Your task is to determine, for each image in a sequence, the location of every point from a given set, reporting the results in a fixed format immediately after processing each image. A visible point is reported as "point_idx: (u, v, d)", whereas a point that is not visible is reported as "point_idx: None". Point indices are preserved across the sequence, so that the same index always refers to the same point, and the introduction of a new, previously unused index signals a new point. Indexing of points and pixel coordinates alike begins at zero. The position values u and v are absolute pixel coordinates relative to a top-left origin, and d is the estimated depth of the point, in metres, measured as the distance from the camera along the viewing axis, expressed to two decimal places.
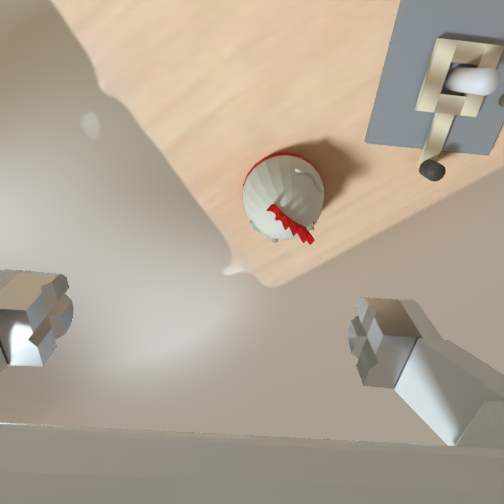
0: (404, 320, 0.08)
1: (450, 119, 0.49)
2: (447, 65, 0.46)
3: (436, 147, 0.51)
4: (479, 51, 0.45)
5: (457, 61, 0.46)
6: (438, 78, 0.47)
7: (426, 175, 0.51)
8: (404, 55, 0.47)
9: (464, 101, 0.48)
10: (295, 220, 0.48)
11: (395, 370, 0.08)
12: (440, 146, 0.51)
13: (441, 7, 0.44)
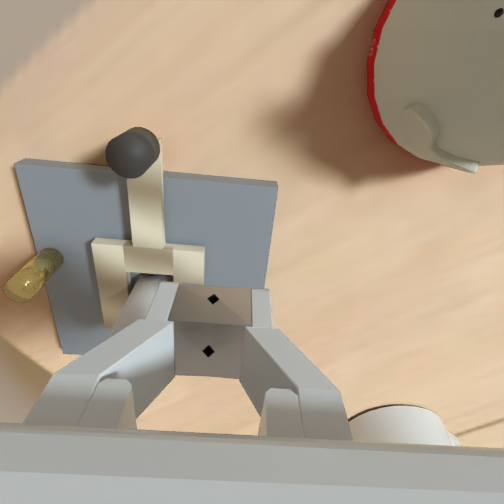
0: (243, 308, 0.08)
1: (137, 239, 0.27)
2: None
3: (140, 190, 0.24)
4: None
5: None
6: None
7: (147, 147, 0.20)
8: None
9: (126, 265, 0.28)
10: None
11: (234, 360, 0.08)
12: (132, 192, 0.25)
13: None
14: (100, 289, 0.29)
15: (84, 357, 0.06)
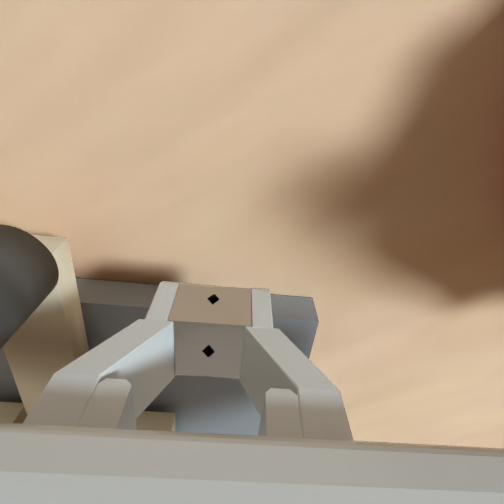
0: (243, 308, 0.08)
1: None
2: None
3: (27, 341, 0.11)
4: None
5: None
6: None
7: None
8: None
9: None
10: None
11: (234, 360, 0.08)
12: (12, 344, 0.11)
13: None
14: None
15: (84, 357, 0.06)
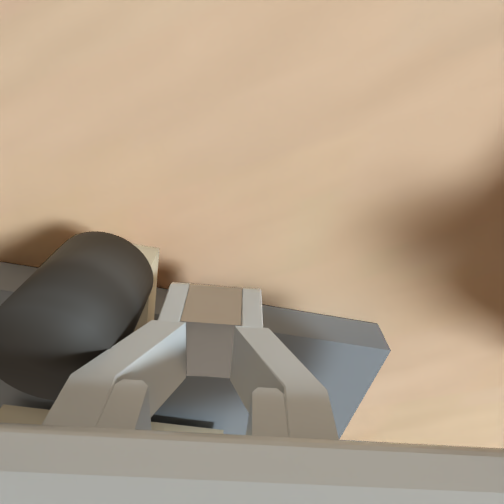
0: (233, 308, 0.08)
1: None
2: None
3: None
4: None
5: None
6: None
7: (114, 326, 0.07)
8: None
9: None
10: None
11: (225, 359, 0.08)
12: None
13: None
14: None
15: (99, 358, 0.06)
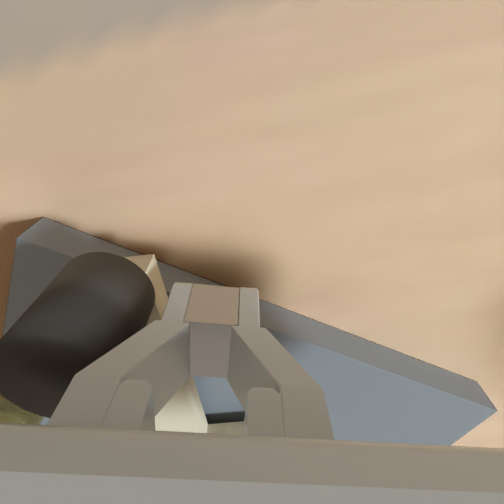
0: (230, 308, 0.08)
1: None
2: None
3: None
4: None
5: None
6: None
7: (106, 336, 0.07)
8: None
9: None
10: None
11: (222, 359, 0.08)
12: None
13: None
14: None
15: (102, 358, 0.06)
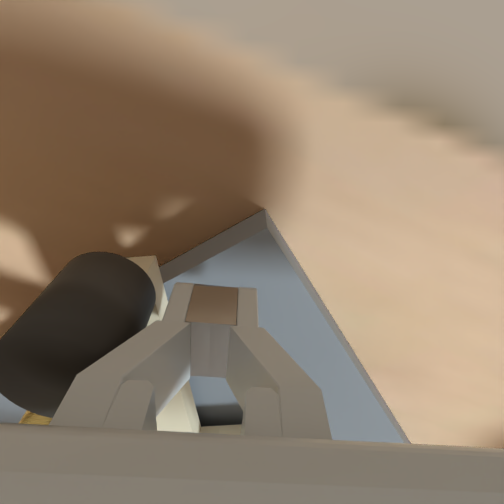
0: (228, 307, 0.08)
1: None
2: None
3: None
4: None
5: None
6: None
7: (108, 337, 0.07)
8: None
9: None
10: None
11: (220, 359, 0.08)
12: None
13: None
14: None
15: (105, 359, 0.06)
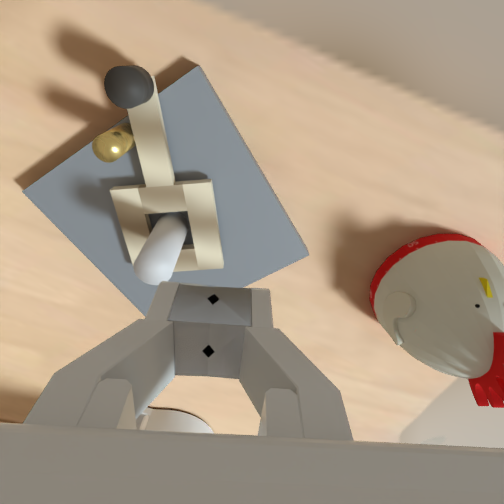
0: (243, 308, 0.08)
1: (149, 179, 0.29)
2: (197, 244, 0.32)
3: (143, 129, 0.27)
4: None
5: (186, 250, 0.33)
6: (200, 228, 0.31)
7: (139, 75, 0.23)
8: None
9: (143, 207, 0.30)
10: (489, 362, 0.28)
11: (234, 360, 0.08)
12: (137, 132, 0.27)
13: (143, 292, 0.37)
14: (125, 236, 0.32)
15: (84, 357, 0.06)
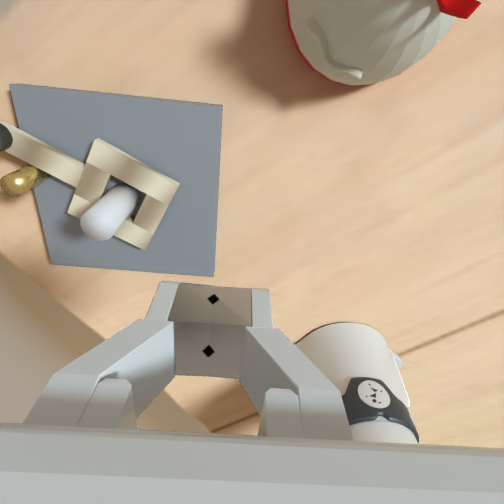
0: (243, 308, 0.08)
1: (71, 181, 0.34)
2: (143, 189, 0.35)
3: (31, 155, 0.33)
4: (147, 225, 0.37)
5: (144, 201, 0.36)
6: (130, 176, 0.34)
7: None
8: (198, 219, 0.38)
9: (91, 202, 0.36)
10: None
11: (234, 360, 0.08)
12: (32, 161, 0.33)
13: (172, 259, 0.41)
14: None
15: (84, 357, 0.06)
